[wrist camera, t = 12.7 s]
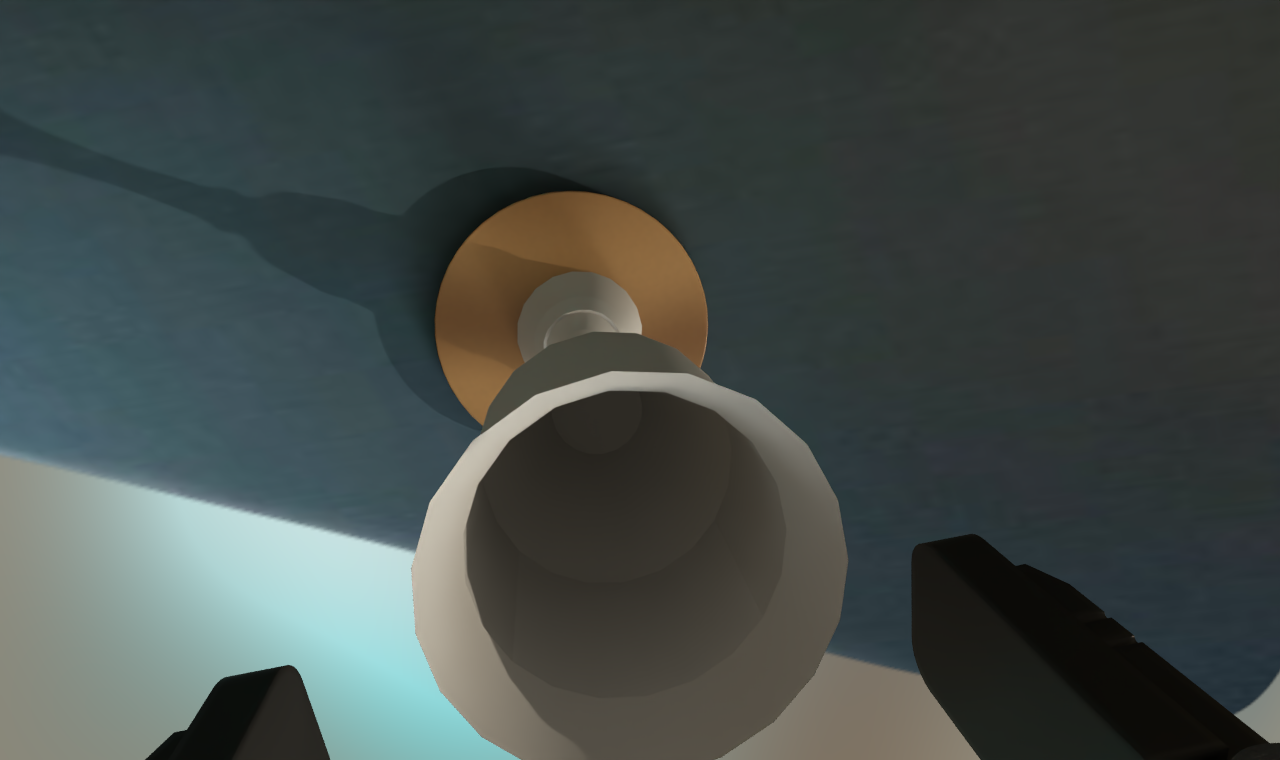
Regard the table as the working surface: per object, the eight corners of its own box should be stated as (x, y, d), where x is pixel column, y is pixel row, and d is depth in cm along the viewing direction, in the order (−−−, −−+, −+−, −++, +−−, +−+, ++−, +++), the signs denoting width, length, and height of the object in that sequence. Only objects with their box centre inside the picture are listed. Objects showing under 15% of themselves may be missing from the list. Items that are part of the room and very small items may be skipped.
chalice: (671, 407, 29) (850, 740, 12) (510, 430, 28) (460, 817, 11) (654, 232, 27) (845, 338, 10) (479, 253, 26) (360, 406, 9)
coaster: (407, 212, 26) (404, 214, 25) (689, 171, 27) (692, 171, 26) (468, 473, 29) (467, 479, 29) (717, 428, 30) (720, 433, 30)
